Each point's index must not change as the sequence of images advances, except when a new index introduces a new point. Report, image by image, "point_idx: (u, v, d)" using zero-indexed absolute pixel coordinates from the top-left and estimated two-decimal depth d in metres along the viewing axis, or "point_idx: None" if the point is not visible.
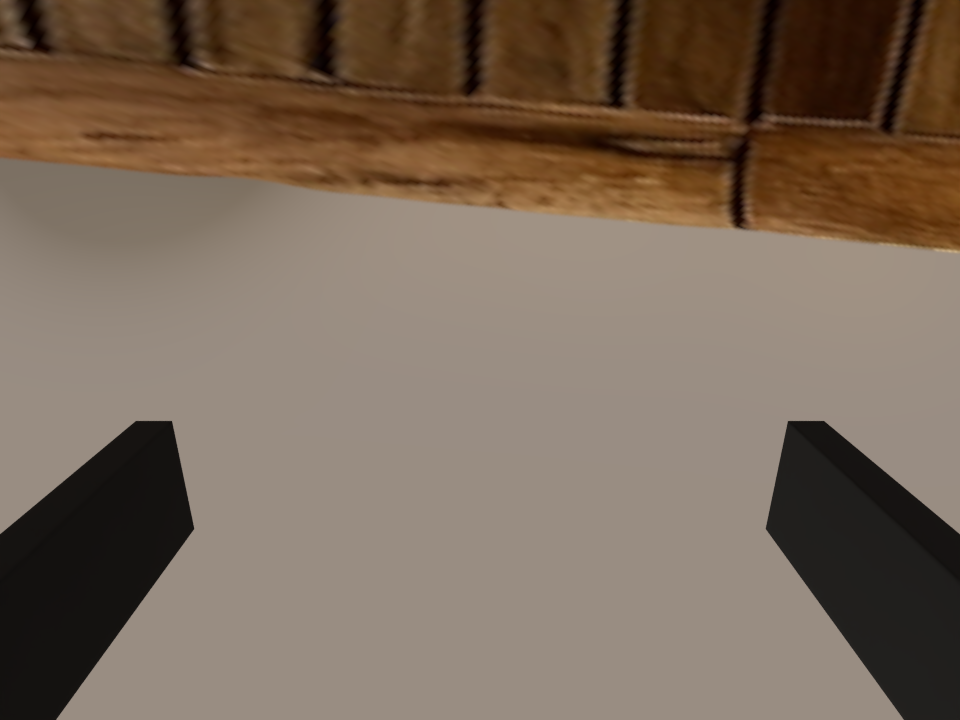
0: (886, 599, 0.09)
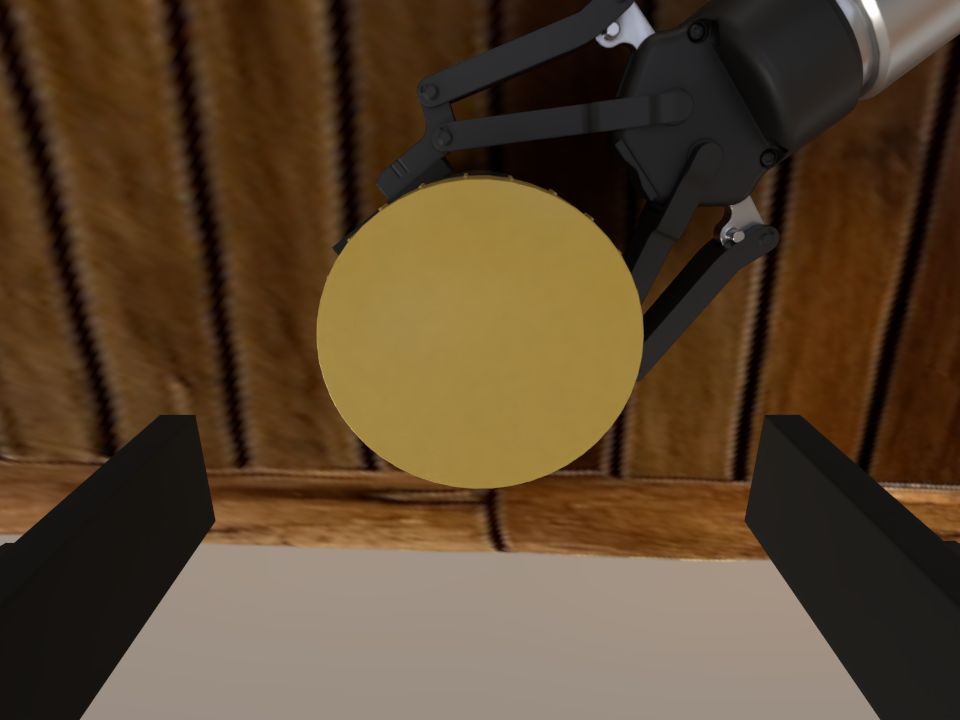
0: (852, 586, 0.10)
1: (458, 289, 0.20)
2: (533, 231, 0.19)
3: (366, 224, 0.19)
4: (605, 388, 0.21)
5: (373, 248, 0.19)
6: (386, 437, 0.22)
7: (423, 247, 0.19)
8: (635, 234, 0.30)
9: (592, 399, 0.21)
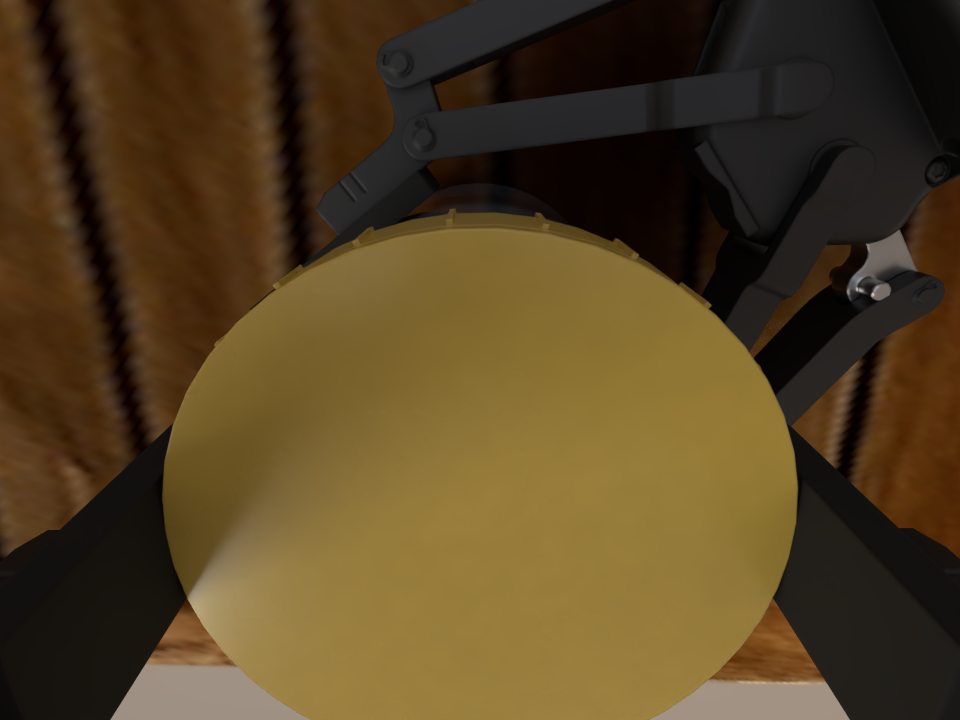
0: (813, 572, 0.10)
1: (437, 441, 0.10)
2: (590, 333, 0.09)
3: (244, 319, 0.09)
4: (715, 609, 0.11)
5: (262, 366, 0.09)
6: (309, 686, 0.12)
7: (365, 364, 0.09)
8: (712, 282, 0.20)
9: (689, 627, 0.11)
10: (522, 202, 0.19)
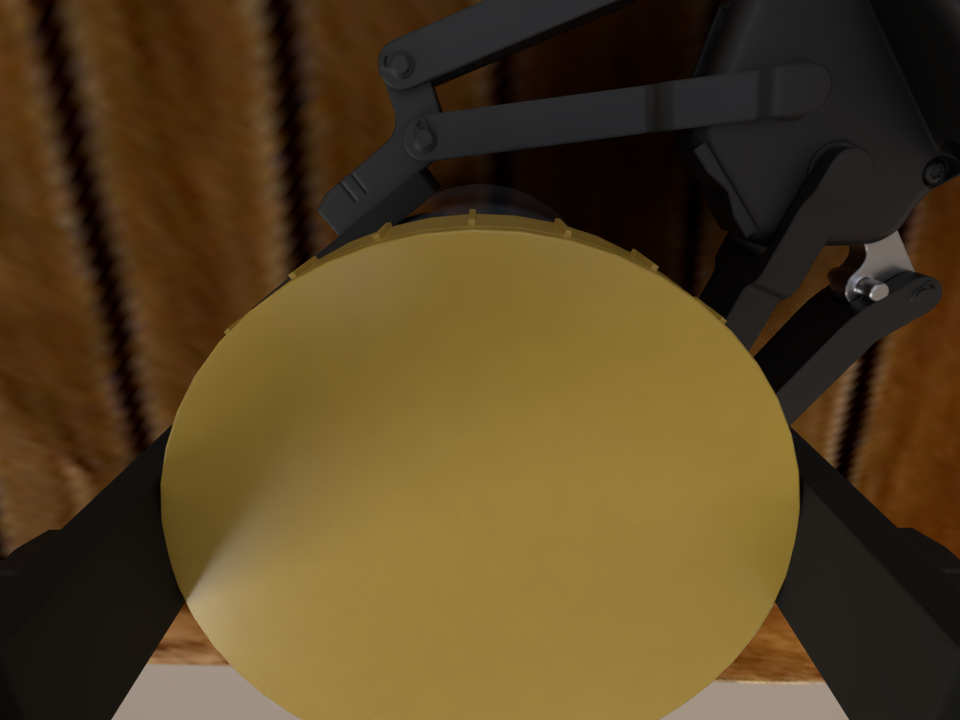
0: (812, 572, 0.10)
1: (355, 549, 0.11)
2: (277, 401, 0.10)
3: (209, 639, 0.11)
4: (660, 352, 0.09)
5: (251, 642, 0.11)
6: None
7: (266, 576, 0.11)
8: (711, 283, 0.20)
9: (673, 384, 0.09)
10: (522, 203, 0.19)
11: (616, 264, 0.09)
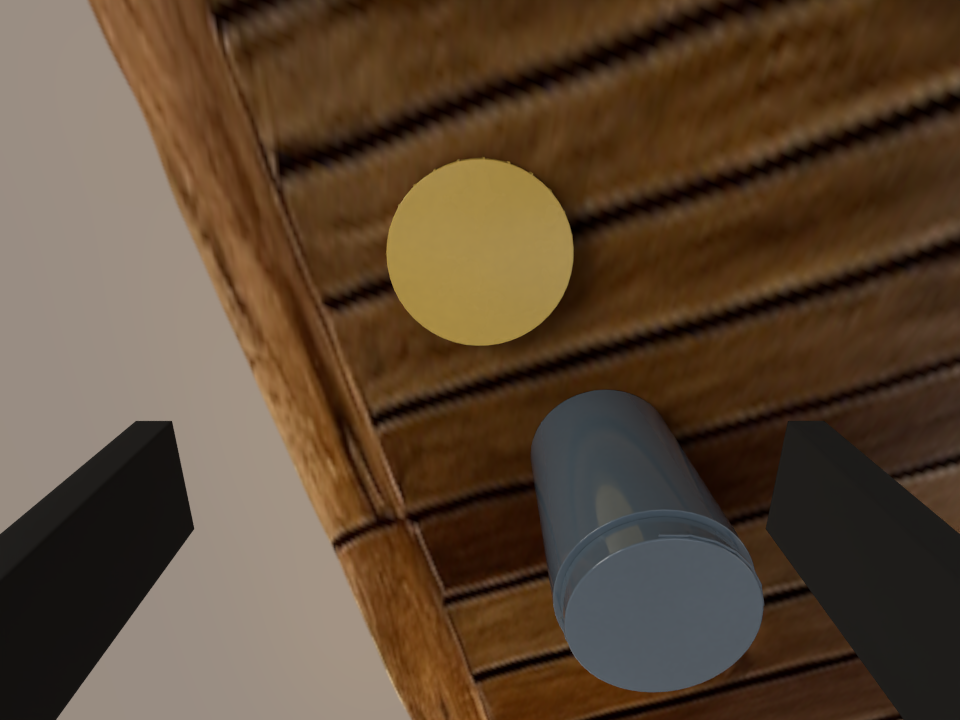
0: (886, 599, 0.09)
1: (468, 292, 0.36)
2: (418, 293, 0.36)
3: None
4: (434, 191, 0.34)
5: (490, 334, 0.37)
6: (560, 246, 0.35)
7: (469, 319, 0.37)
8: None
9: (444, 190, 0.34)
10: None
11: (407, 197, 0.34)
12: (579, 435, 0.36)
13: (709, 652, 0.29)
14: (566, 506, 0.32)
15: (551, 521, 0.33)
